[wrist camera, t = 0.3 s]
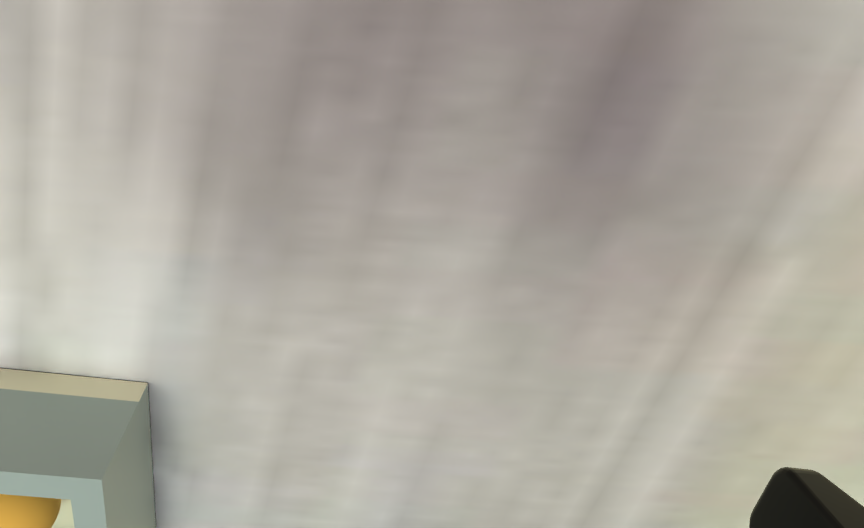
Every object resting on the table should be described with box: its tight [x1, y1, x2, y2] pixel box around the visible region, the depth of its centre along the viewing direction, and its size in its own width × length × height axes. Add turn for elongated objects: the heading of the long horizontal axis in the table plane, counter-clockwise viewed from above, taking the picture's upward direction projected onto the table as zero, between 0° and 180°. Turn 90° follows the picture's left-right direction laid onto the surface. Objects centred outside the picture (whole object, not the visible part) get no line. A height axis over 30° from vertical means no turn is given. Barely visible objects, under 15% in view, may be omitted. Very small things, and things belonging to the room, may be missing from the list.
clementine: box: [0, 494, 61, 528], centre depth 25 cm, size 3×3×3 cm
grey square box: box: [0, 368, 156, 528], centre depth 25 cm, size 8×8×4 cm
